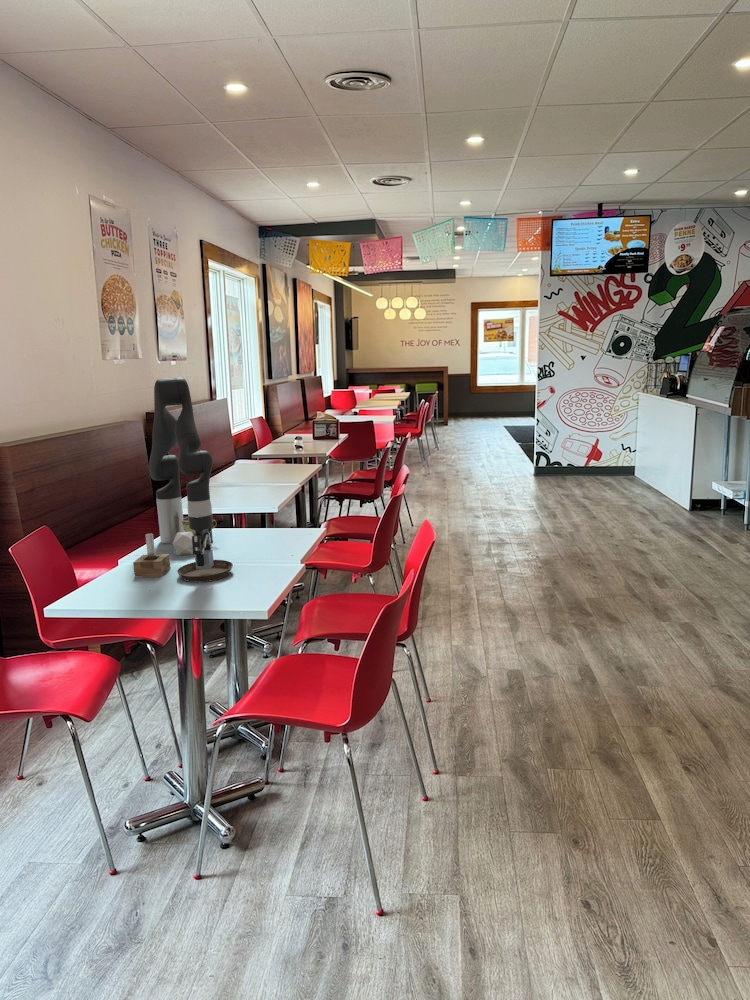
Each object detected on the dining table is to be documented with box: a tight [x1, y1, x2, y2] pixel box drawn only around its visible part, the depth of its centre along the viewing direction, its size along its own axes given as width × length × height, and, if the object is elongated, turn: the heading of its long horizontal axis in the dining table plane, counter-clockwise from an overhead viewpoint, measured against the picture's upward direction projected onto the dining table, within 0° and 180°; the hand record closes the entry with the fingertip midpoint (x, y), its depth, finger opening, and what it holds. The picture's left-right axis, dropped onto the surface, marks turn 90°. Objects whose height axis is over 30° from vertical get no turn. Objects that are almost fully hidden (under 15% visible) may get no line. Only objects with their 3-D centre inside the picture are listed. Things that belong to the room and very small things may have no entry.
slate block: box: [194, 549, 214, 569], centre depth 242 cm, size 4×4×5 cm
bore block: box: [132, 553, 172, 578], centre depth 248 cm, size 9×9×5 cm
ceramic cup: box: [182, 516, 218, 536], centre depth 282 cm, size 13×10×10 cm
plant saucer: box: [176, 559, 234, 583], centre depth 243 cm, size 18×18×3 cm
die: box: [172, 532, 193, 556], centre depth 270 cm, size 8×9×10 cm
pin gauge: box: [145, 533, 156, 560], centre depth 247 cm, size 2×2×12 cm
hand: (204, 562), depth 242 cm, fingers open, 8 cm apart
